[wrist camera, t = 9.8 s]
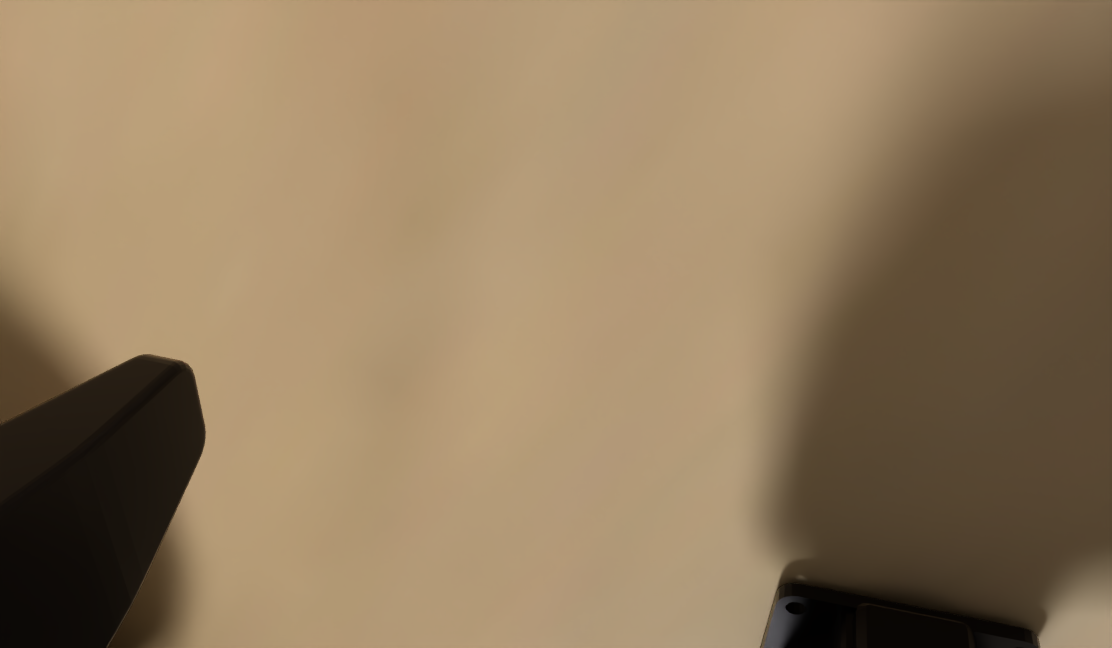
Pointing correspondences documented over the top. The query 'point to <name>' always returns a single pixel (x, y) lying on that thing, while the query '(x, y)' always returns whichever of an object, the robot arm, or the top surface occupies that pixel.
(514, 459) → the top surface
